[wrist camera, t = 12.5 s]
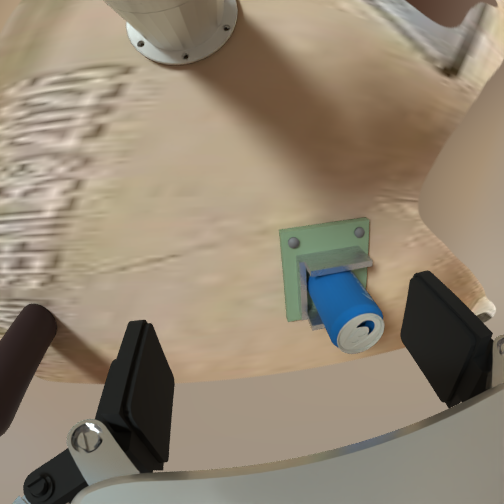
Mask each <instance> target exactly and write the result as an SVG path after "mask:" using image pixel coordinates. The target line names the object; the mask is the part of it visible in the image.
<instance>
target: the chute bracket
mask: <svg viewBox="0 0 504 504" xmlns="http://www.w3.org/2000/svg"><path fill="white" fill-rule="evenodd" d="M372 261H373V260H372V259H371V258H370V257H369V256H368V255H367V254H366V253H365V252H364V251H363V249H362V248H361V247H360V246H359V245H357V246H351V247H345V248H339V249H333V250H327V251H321V252H315V253H309V254H302V255H296V269H297V285H298V303H299V313H300V316H301V319H302V320H307V319H308V321H309V324H310V326H311V329H312V331H313V330H318V329H323V328H325V326H324V324H323V322H322V320H321V317H320V315H319V313H318V311H317V309H316V307H315V305H310V306H307V283H306V269H307V271H308V272H309V274H310V276H311V277H315V276H321V275H327V274H332V273H338V272H343V271H349V270H354V269H359V268H364V267H370V266H372Z"/></svg>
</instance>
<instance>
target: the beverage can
mask: <svg viewBox="0 0 504 504" xmlns="http://www.w3.org/2000/svg"><path fill="white" fill-rule="evenodd" d="M307 289H308V292H309V294H310V296H311V298H312V300H313V303H314V305H315V307H316V309H317V311H318V313H319V315H320V317H321V320H322V322H323V324H324V326H325V328H326V330H327V332H328V335H329V337H330V339H331V341H332V343H333V344H334V345H335V346H337V347H338V348H340V350H341V351H343V352H345V353H348V354H356V353H360V352H363V351H365V350H367V349H369V348H371V347H372V346H373V345H374V344H376V343H377V341H378V340H379V339H380V338H381V336H382V334H383V332H384V322H383V315H382V312H381V310H380V309H379V307H378V306H377V304H376V303H375V302H374V300H373V299H372V298H371V296H370V295H369V293H368V292H367V291H366V289H365V288H364V287H363V285H362V284H361V283H360V281H359V280H358V279H357V277H356V276H355V275H354V273H353V272H352V271H351V270H349V271H343V272H338V273H332V274H327V275H321V276H315V277H311V276H309V279H308V282H307Z"/></svg>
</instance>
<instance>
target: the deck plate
mask: <svg viewBox="0 0 504 504" xmlns="http://www.w3.org/2000/svg"><path fill="white" fill-rule="evenodd" d="M279 236H280V246H281V257H282V268H283V280H284V291H285V304H286V316H287V321H288V322H290V321H296V320H301V316H300V313H299V303H298V285H297V269H296V255H302V254H309V253H315V252H321V251H327V250H333V249H339V248H345V247H351V246H357V245H359V246H360V247H361V248H362V249H363V251H364V252H365V253H366V254H367V255H368V241H369V219H367V218H366V217H365V218H358V219H350V220H343V221H336V222H329V223H322V224H315V225H308V226H302V227H295V228H288V229H281V230H279ZM351 271H352V272H353V273H354V275H355V276H356V277H357V279H358V280H359V281H360V283H361V284H362V285H363V287H364V288H365V289H366V279H367V267H364V268H359V269H354V270H351ZM309 276H310V274H309V272H308V271H307V269H306V283H307V282H308V279H309ZM310 305H314V303H313V300H312V298H311V296H310V294H309V292H308V289H307V306H310Z"/></svg>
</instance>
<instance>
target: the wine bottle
mask: <svg viewBox="0 0 504 504" xmlns="http://www.w3.org/2000/svg"><path fill="white" fill-rule="evenodd" d="M56 330H57V325H56V322H55V319H54V318H53V316H52V315H51V314H50V312H49V311H47V310H46V309H45V308H44V307H42V306H40V305H37V304H29V305H27V306H26V307H24V308H23V310H22V311H21V312H20V314H19V315H18V317H17V318H16V319H15V321H14V322H13V323H12V325H11V326H10V328H9V329H8V330H7V332H6V333H5V335H4V336H3V338H2V339H1V340H0V436H1V435H3V434H4V433H5V432H6V430H7V429H8V428H9V426H10V424H11V423H12V421H13V419H14V417H15V414H16V412H17V410H18V407H19V405H20V403H21V401H22V399H23V397H24V394H25V392H26V390H27V388H28V386H29V384H30V382H31V380H32V378H33V376H34V374H35V372H36V370H37V368H38V366H39V364H40V362H41V360H42V358H43V356H44V355H45V353H46V351H47V349H48V347H49V345H50V343H51V342H52V340H53V338H54V336H55V334H56Z"/></svg>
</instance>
